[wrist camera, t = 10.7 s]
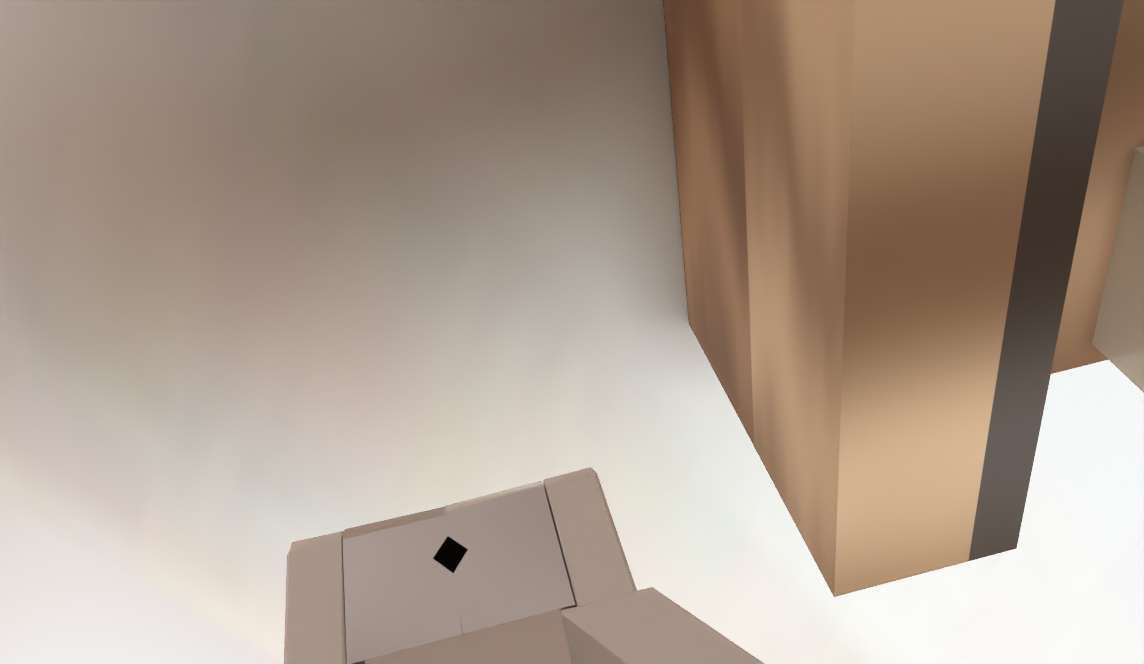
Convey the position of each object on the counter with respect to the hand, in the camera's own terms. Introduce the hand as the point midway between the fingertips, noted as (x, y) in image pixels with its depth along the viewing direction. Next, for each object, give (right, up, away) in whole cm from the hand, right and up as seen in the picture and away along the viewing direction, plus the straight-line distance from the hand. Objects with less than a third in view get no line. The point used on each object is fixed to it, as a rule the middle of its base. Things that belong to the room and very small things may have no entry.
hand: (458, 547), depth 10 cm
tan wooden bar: (+5, +5, +5) cm, 9 cm away
